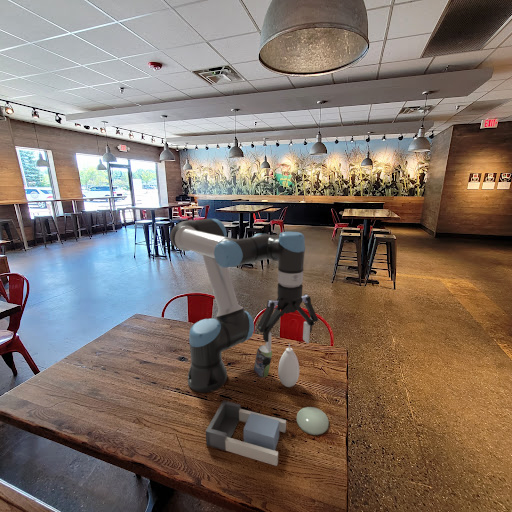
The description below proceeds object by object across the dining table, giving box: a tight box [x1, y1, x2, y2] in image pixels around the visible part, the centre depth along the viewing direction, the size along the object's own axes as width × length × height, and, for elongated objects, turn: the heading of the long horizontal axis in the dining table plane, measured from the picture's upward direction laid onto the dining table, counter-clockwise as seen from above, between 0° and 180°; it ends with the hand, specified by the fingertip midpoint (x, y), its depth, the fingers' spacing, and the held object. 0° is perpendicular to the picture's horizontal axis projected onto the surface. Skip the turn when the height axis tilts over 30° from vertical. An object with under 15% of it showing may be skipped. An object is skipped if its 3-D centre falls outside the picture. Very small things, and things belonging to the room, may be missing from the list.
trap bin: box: [205, 399, 241, 452], centre depth 82 cm, size 6×12×5 cm, turn 162°
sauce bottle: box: [277, 342, 300, 388], centre depth 100 cm, size 8×8×18 cm
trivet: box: [296, 406, 330, 436], centre depth 86 cm, size 10×10×1 cm
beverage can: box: [253, 344, 273, 378], centre depth 106 cm, size 6×7×12 cm
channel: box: [225, 408, 287, 467], centre depth 79 cm, size 15×12×4 cm
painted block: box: [242, 413, 280, 451], centre depth 78 cm, size 9×6×6 cm, turn 71°
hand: (287, 345), depth 86 cm, fingers open, 13 cm apart
